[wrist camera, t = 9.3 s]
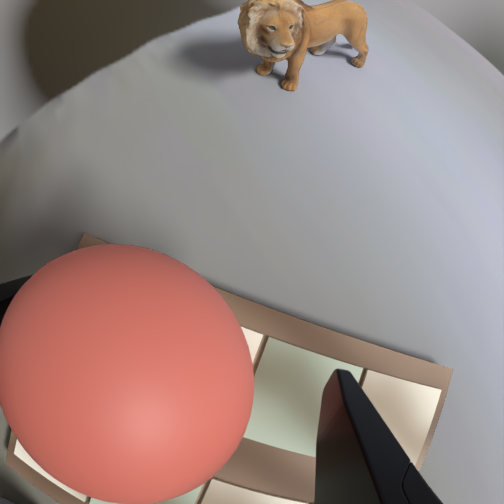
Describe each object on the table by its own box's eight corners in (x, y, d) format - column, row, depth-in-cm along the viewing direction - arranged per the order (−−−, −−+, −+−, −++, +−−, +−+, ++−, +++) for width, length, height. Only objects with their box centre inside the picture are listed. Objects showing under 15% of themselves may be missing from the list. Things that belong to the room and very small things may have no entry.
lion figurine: (266, 124, 21) (282, 16, 13) (218, 86, 22) (217, -14, 14) (376, 62, 25) (406, -11, 17) (333, 34, 26) (354, -38, 18)
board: (347, 578, 12) (353, 588, 10) (15, 459, 13) (3, 463, 12) (442, 369, 17) (455, 368, 15) (92, 239, 18) (83, 231, 17)
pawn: (246, 414, 14) (297, 582, 2) (145, 411, 14) (-47, 503, 2) (244, 314, 16) (286, 164, 4) (145, 313, 15) (-42, 188, 3)
